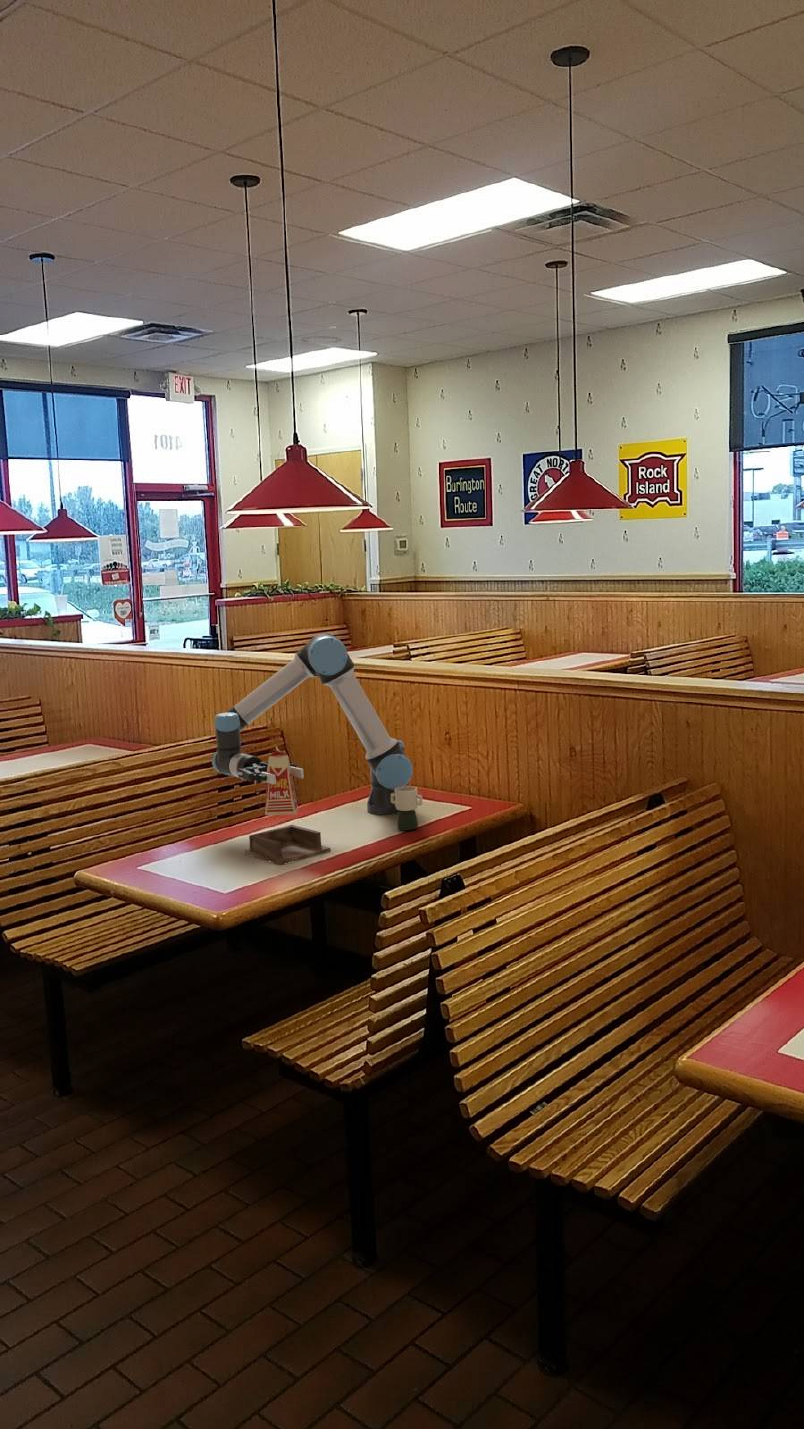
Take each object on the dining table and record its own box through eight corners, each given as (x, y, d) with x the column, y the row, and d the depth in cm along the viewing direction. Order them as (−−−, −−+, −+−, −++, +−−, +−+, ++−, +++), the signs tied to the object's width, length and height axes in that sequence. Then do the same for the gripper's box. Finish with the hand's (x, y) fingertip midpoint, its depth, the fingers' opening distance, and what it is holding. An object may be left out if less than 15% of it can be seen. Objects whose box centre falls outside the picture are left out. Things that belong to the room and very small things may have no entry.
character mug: (428, 827, 342) (426, 786, 340) (418, 833, 336) (416, 792, 334) (397, 825, 347) (395, 784, 345) (387, 831, 341) (384, 790, 339)
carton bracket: (294, 840, 335) (293, 823, 335) (330, 851, 322) (329, 832, 321) (244, 854, 324) (243, 835, 323) (280, 865, 310) (278, 846, 309)
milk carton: (296, 814, 322) (292, 746, 319) (264, 815, 322) (260, 748, 319) (298, 806, 331) (293, 741, 328) (267, 808, 331) (262, 742, 328)
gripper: (277, 772, 346) (319, 782, 329) (216, 785, 332) (257, 795, 315) (275, 749, 345) (318, 757, 328) (215, 760, 331) (256, 770, 314)
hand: (288, 776), depth 321 cm, fingers closed on milk carton, 9 cm apart
